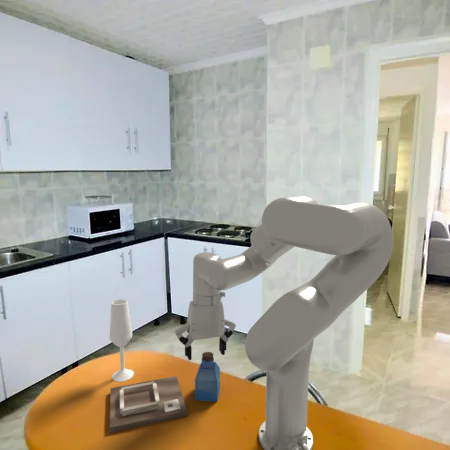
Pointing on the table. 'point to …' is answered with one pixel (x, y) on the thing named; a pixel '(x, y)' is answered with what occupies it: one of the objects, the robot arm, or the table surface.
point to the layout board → (145, 403)
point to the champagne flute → (121, 335)
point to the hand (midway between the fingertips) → (205, 355)
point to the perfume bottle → (207, 379)
